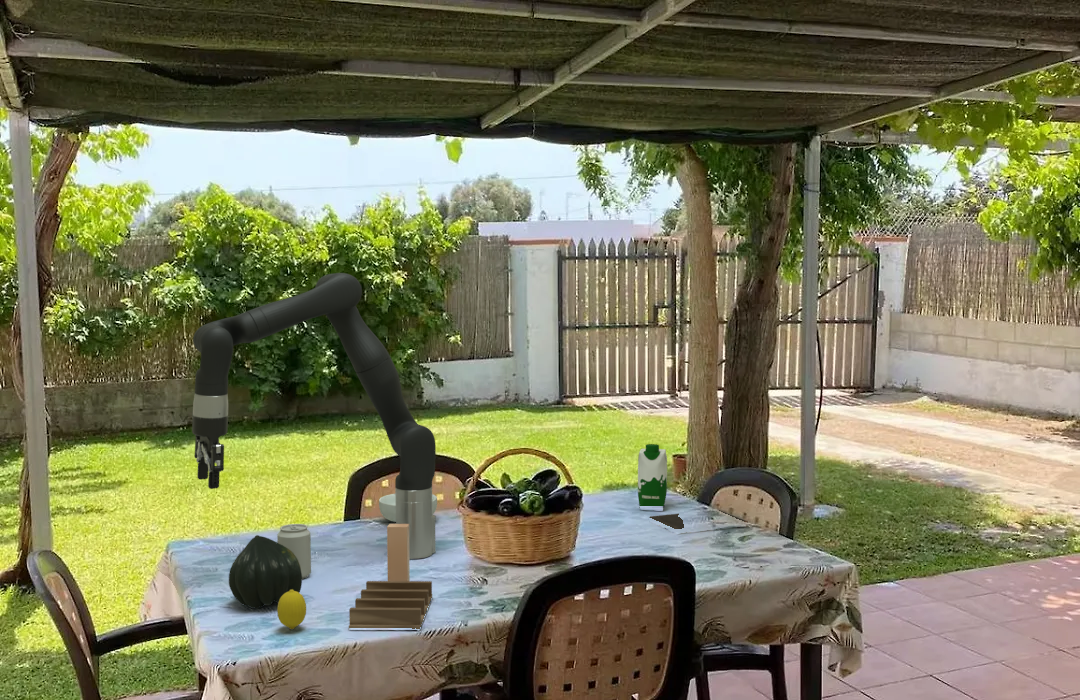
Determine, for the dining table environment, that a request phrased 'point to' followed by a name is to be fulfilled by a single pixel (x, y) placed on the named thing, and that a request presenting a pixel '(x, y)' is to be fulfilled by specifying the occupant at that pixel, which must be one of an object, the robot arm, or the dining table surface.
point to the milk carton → (652, 476)
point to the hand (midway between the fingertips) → (207, 483)
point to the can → (297, 544)
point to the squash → (264, 573)
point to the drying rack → (391, 604)
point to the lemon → (291, 609)
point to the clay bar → (398, 552)
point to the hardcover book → (677, 520)
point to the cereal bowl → (389, 505)
